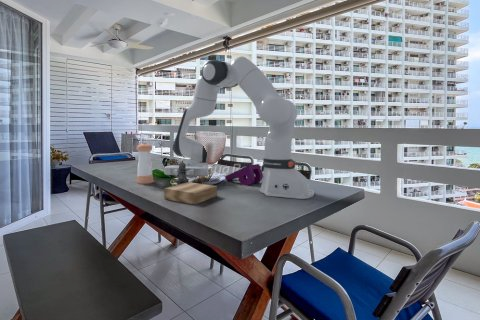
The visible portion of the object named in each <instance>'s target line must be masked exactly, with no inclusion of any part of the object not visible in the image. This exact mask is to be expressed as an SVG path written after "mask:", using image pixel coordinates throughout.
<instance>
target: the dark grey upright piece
mask: <svg viewBox="0 0 480 320" xmlns="http://www.w3.org/2000/svg"><path fill="white" fill-rule="evenodd" d="M183 162H184V160H181V162H180V163H179V164H178V165H179V171H178V172H179V175H178V178H176V179H175V181H176V185H180V184H184V183H188V182H190V181H189V180H190V178H187V177H186V164H185V163H183Z"/></svg>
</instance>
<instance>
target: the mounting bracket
mask: <svg viewBox="0 0 480 320" xmlns="http://www.w3.org/2000/svg"><path fill="white" fill-rule="evenodd" d="M224 178H225V181H226V182H227V181H231V180H236V179H238V182H240V184H241V185H242V186H246V187H247V186H251V185H252V184H259V183H260V182H262V180H263V169H262V168H261V165H260V163H256V164H250V165H246V166H245V167H242V168H240V169H237V170H236V171H234V172H232V173H229V174H227V175H225V176H224Z"/></svg>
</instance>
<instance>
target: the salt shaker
mask: <svg viewBox="0 0 480 320" xmlns="http://www.w3.org/2000/svg"><path fill="white" fill-rule="evenodd" d="M152 149H153V147H152V145H150V144H149V143H148V144H147V143H146V142H142V143H140V144H138V145H137V146H136V151H138V153H137V154H138V155H137V157H138V159H137V160H138V162H137V163H138V164H137V168H136V169H137V175H136V183H137V184H140V185H148V184H152V183H154V175H153V165H152V159H151V157H152V156H151V155H152V153H151V151H152Z"/></svg>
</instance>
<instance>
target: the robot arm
mask: <svg viewBox="0 0 480 320" xmlns="http://www.w3.org/2000/svg"><path fill="white" fill-rule="evenodd" d="M237 86H239V88H240V89H241V90H242V91H243V92H244V94H245V95H247V97H248V98H249V100H250V101H251V102H252V104H253V106H254V107H255V109H256V111H257V114H258V117H259V118H260V119H261V120H262V121H263V122H264V123H266V124H268V125H269V127H268V131H267V135H266V137H265V139H264V154H263V155H264V158H263V161H262V173H263V178H262V180H261V185H260V188H259V192H260V193H262V194H264V196H267V197H277V198H287V199H298V200H306V199H310V198H312V197H314V195H315V191H314V190H312V189H310V185H309V181H308V179H307V177H306V176H305V175H303V174H302V173H301V172H300V171H298V170H297V169H296V165H297V160H294V159H292V141H293V134H294V130H295V125H296V120H297V118H298V115H299V114H298V108H297V107H296V105H295V104H294V103H293V102H292V101H291V100H289V99H285V98H283V97H282V96H281V95H280V93H278V91H277V90H276V89H275V87H274V85H273V83H272V81H271V80H270V79H269V78H268V77H267V76H266V75H265V73H263V71H262V70H260V68H259V67H258V66H257V65H256V64H255V63H254V62H253V61H251V60H250V59H249V58H247V57H245V56H238V57H236V58H234V59H233V60H232V62H231V63H229V62H227V61H225V60H224V61H223V60H218V59H210V60H206V62H204V63H203V65H202V67H201V75H200V76H199V77H198V79H197V81H196V84H195V88H194V93H193V99H192V102H191V103H190V105H188V106H186V107H185V109H184V111H183V114H182V117H181V120H180V123H179V126H178V129H177V133H176V136H175V138H174V141H173V144H172V151H173V153H174V154H175V155H176V156H177V157H183V158H184V157H185V158H190V159H187V160H184V161H183V163H185V164H186V178H187V179H193V178H197V176H198V177H207V176H209V163H208V161H206V160H207V152H206V150H205V148H204V146H203V145H202V144H201V143H200V142H199V141H197V140H198V139H194V138H189V137H187V134H188V131H189V128H190V124H191V122H192V121H193V120H195V119H201V118H205V117H208V116H211V115H212V114H213V113H214V111H215V109H216V106H217V98H218V94H219V91H220V90H221V89H222V88H223V89H224V90H225V89H230V88H236V87H237ZM163 170H164V171H163V173H164V175H167V176H179V172H178V171H179V164H177V165H175V164H174V165H166V166H164V169H163Z"/></svg>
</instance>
